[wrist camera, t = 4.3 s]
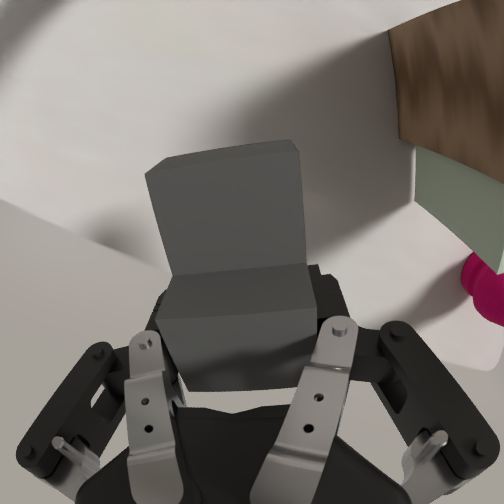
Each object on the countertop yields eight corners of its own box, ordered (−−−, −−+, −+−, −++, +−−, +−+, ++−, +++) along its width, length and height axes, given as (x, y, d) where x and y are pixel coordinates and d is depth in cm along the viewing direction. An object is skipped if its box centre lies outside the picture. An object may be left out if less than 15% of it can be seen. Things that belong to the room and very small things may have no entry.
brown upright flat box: (387, 30, 18) (514, -15, 4) (423, 35, 17) (555, 11, 3) (398, 138, 22) (531, 199, 8) (432, 139, 22) (564, 199, 8)
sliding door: (410, 67, 18) (514, 60, 7) (422, 68, 18) (527, 65, 7) (414, 200, 24) (497, 274, 13) (425, 200, 24) (509, 271, 13)
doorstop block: (165, 158, 11) (111, 200, 7) (290, 139, 11) (311, 170, 7) (205, 312, 15) (188, 391, 11) (302, 303, 15) (315, 385, 10)
